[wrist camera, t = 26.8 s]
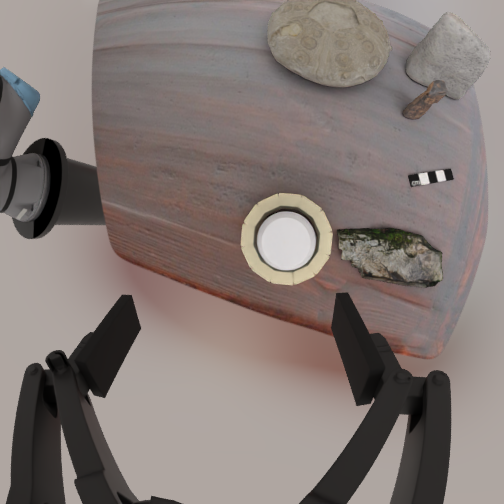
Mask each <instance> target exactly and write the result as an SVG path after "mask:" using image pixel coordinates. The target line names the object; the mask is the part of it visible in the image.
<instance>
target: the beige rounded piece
mask: <svg viewBox="0 0 504 504" xmlns="http://www.w3.org/2000/svg"><path fill="white" fill-rule="evenodd" d="M267 33H268V38H267V39H268V44H269V46H270V49H271V52H272V54H273V56H274V58H275V59H276V61H278V62H279V63H280V64H282V65H283V66H284V67H286V68H287V69H288V70H290V71H292V72H294V73H296V74H298V75H300V76H302V77H303V78H305V79H308V80H311V81H313V82H316V83H319V84H322V85H326V86H332V87H344V88H345V87H351V86H354V85H357V84H362V83H364V82H366V81H368V80H370V79H372V78H374V77H376V76H377V75H378V73H379V72H380V71H381V70H382V69H383V68H384V66H385V64H386V62H387V58H388V57H389V52H390V51H391V50H392V47H391V46H390V40H389V37H388V34H387V31H386V28H385V27H384V25H383V21H382V20H380V19H379V18H378V17H377V16H376V14H375V13H373V12H371V11H370V10H369V9H368V8H366V7H364V6H363V5H362V4H360V3H358V2H356V0H287V1H286V2H285V3H283V4H282V5H281V6H280V7H279V8H278V9H277V10H276V11H275V12H273V13H272V16H271V18H270V20H269V22H268V30H267Z"/></svg>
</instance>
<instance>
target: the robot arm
mask: <svg viewBox="0 0 504 504" xmlns="http://www.w3.org/2000/svg"><path fill="white" fill-rule="evenodd" d="M39 101H40V94H39V92H38V91H37V90H35V89H34V88H33V87H31V86H30V85H29V84H27V83H26V82H24V81H23V80H22V79H20V78H19V77H17V76H16V75H15V74H13V73H12V72H10V71H9V70H7V69H6V68H2V69H1V70H0V213H5V214H7V215H9V216H11V217H13V218H16V219H18V220H20V221H22V222H31V221H34V220H35V219H36V218H37V217H38V216H39V215H40V214H41V212H42V210H43V209H44V206H45V204H46V201H47V198H48V194H49V190H50V182H51V172H50V166H49V163H48V160H47V159H46V157H45V156H43V155H41V154H37V153H30V154H25V155H20V156H16V157H12V154H13V152H14V150H15V148H16V146H17V144H18V142H19V140H20V138H21V136H22V134H23V132H24V130H25V128H26V126H27V124H28V122H29V121H30V119H31V117H32V116H33V113H34V111H35V109H36V107H37V105H38V103H39ZM331 329H332V332H333V335H334V338H335V341H336V343H337V347H338V350H339V352H340V355H341V358H342V361H343V364H344V367H345V371H346V374H347V377H348V380H349V383H350V386H351V389H352V393H353V395H354V399H355V402H356V406H360V405H365V404H371V401H372V399H373V397H374V399H375V401H374V403H373V404H372V406H371V408H370V410H369V411H368V413H367V415H366V416H365V418H364V420H363V421H362V423H361V424H360V426H359V428H358V429H357V431H356V432H355V434H354V435H353V437H352V438H351V440H350V442H349V443H348V444H347V446H346V447H345V449H344V450H343V452H342V453H341V454H340V456H339V457H338V458H337V460H336V461H335V462H334V464H333V465H332V466H331V468H330V469H329V470H328V472H327V473H326V474H325V475H324V477H323V478H322V479H321V480H320V482H319V483H318V484H317V485H316V486H315V488H314V489H313V490H312V491H311V492H310V493H309V494H308V495H307V496H306V497H305V498H304V499H303V500H302V501H301V502H300V503H299V504H347V502H348V501H349V500H350V498H351V497H352V495H353V494H354V493H355V491H356V490H357V488H358V487H359V485H360V484H361V482H362V481H363V479H364V478H365V476H366V475H367V473H368V471H369V470H370V468H371V467H372V465H373V463H374V461H375V460H376V458H377V456H378V455H379V453H380V451H381V449H382V448H383V445H384V444H385V442H386V440H387V438H388V436H389V434H390V432H391V430H392V428H393V426H394V424H395V422H396V420H397V418H398V416H399V414H407V415H409V416H408V423H407V430H406V436H405V442H404V448H403V453H402V458H401V463H400V467H399V472H398V476H397V480H396V484H395V488H394V491H393V495H392V498H391V502H390V504H443V501H444V496H445V490H446V483H447V476H448V468H449V457H450V443H451V391H450V380H449V377H448V376H447V374H445V373H444V372H442V371H438V370H436V371H432V372H430V373H429V374H428V376H427V377H426V378H425V377H413V376H412V374H411V373H410V372H409V371H407V370H405V369H402V368H401V367H400V365H399V363H398V361H397V359H396V357H395V355H394V353H393V351H391V348H390V346H389V344H388V342H387V340H386V339H385V338H384V337H383V336H382V335H381V334H380V333H374V334H369V332H368V330H367V328H366V326H365V324H364V322H363V320H362V318H361V316H360V314H359V313H358V311H357V309H356V307H355V305H354V303H353V301H352V299H351V298H350V296H349V294H348V293H336V299H335V306H334V313H333V320H332V326H331ZM140 330H141V326H140V323H139V319H138V317H137V313H136V309H135V305H134V302H133V298H132V295H122V296H121V297H120V298H119V299H118V301H117V302H116V303H115V304H114V306H113V307H112V308H111V310H110V311H109V312H108V314H107V315H106V316H105V318H104V319H103V320H102V322H101V323H100V324H99V326H98V327H97V328H96V330H95V331H94V333H93V332H90V333H89V334H87V335H86V336H85V337H84V338H83V339H82V340H81V342H80V343H79V345H78V346H77V348H76V349H75V350H74V352H73V353H72V354H71V356H70V357H69V359H67V357H66V355H65V353H64V352H63V351H61V350H56V351H53V352H51V353H50V354H49V355H48V356H47V357H46V360H45V361H46V363H47V365H48V367H49V368H50V369H49V370H44V369H43V368H42V366H41V364H39V363H34V364H31V365H29V366H28V367H27V369H26V371H25V374H24V378H23V382H22V387H21V392H20V396H19V401H18V407H17V412H16V419H15V426H14V434H13V443H12V456H11V487H10V490H9V494H8V497H7V501H6V504H65V495H64V487H63V477H62V463H61V425H62V429H63V433H64V436H65V440H66V444H67V447H68V451H69V454H70V457H71V460H72V463H73V466H74V469H75V472H76V474H77V479H75V481H74V483H75V486H76V489H77V491H78V494H79V496H80V499H81V501H82V503H83V504H181V503H179V502H176V501H174V500H168V499H163V498H158V497H154V496H151V500H144V501H139V500H138V499H137V498H136V497H135V495H134V494H133V493H132V492H131V490H130V489H129V487H128V485H127V483H126V481H125V480H124V478H123V476H122V474H121V472H120V470H119V468H118V466H117V464H116V462H115V460H114V458H113V456H112V453H111V451H110V449H109V447H108V444H107V442H106V440H105V438H104V435H103V432H102V430H101V427H100V425H99V422H98V419H97V417H96V415H95V411H94V408H93V406H92V402H91V399H90V397H89V395H88V391H89V389H90V390H91V391H92V393H93V394H94V395H95V396H99V397H103V398H105V397H106V395H107V393H108V390H109V389H110V386H111V385H112V383H113V381H114V378H115V377H116V375H117V372H118V370H119V369H120V367H121V365H122V363H123V361H124V359H125V357H126V355H127V353H128V352H129V350H130V348H131V346H132V344H133V342H134V340H135V339H136V337H137V335H138V333H139V331H140Z"/></svg>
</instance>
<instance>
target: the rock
mask: <svg viewBox="0 0 504 504" xmlns="http://www.w3.org/2000/svg"><path fill="white" fill-rule="evenodd" d="M337 234H338V238H339V247H338V249H342V256H341V260H351V264H352V267H356V268H358V269H359V273H361V276H362V278H365V279H374V280H379V281H383V282H387V283H394V284H398V285H403V286H416V287H423V288H427V287H429V286H430V287H431V286H435V285H436V284H437V283H438V282H440V281H442V280H443V271H442V267H441V262H442V252H441V251H437V250H436V249H434V248H433V247H432V246H431V245H430V244H429V243H428V242H427V241H426V240H425V238H424V237H423V236H421V235H418V234H413V233H410V232H405V231H402V230H399V229H394V228H385V229H380V230H379V229H373V230H372V229H369V228H367V229H365V228H364V229H349V231H348V229H344V230H343V231H341V230H340V229H339V230H337Z"/></svg>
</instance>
